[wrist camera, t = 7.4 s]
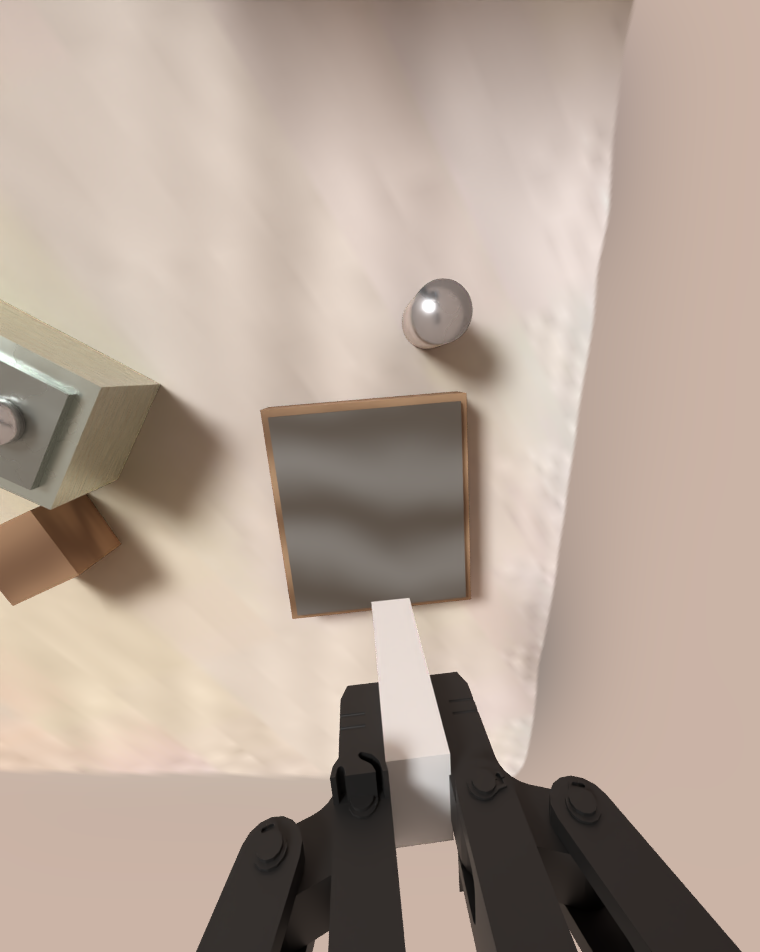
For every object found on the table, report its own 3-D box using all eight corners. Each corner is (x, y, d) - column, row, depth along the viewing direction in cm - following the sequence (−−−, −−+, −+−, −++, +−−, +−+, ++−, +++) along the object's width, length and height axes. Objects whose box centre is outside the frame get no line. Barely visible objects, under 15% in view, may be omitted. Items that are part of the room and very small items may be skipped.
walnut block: (24, 515, 30) (-39, 543, 25) (82, 488, 29) (30, 510, 25) (65, 569, 31) (12, 605, 26) (121, 543, 31) (78, 575, 26)
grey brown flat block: (268, 407, 29) (259, 410, 26) (456, 391, 29) (468, 393, 26) (297, 600, 33) (291, 621, 30) (461, 582, 33) (472, 602, 31)
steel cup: (400, 297, 28) (410, 280, 23) (450, 293, 28) (472, 276, 23) (403, 350, 28) (414, 345, 24) (452, 346, 29) (473, 341, 24)
